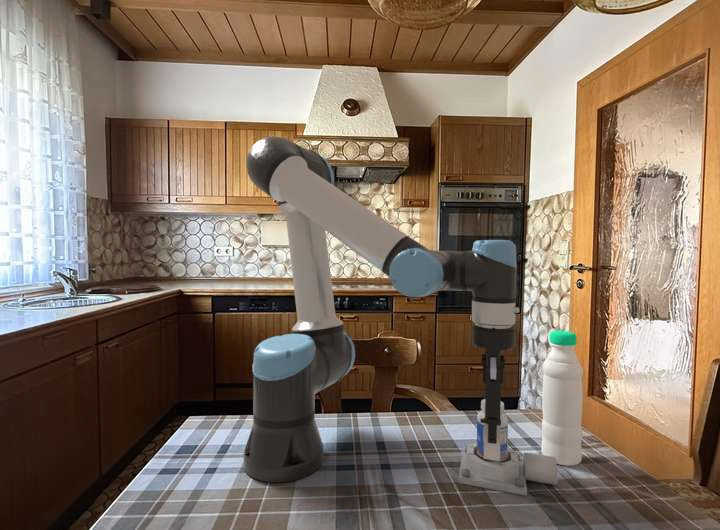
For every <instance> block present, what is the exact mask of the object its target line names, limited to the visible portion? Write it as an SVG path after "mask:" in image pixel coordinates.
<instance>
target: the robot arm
mask: <svg viewBox="0 0 720 530" xmlns="http://www.w3.org/2000/svg"><path fill="white" fill-rule="evenodd" d="M245 165H246V171H247V174H248V177H249V179H250V181H251V182H252V183H253V185H255V187H256V188H258V189H259V190H261V192H263V193H264V194H266V195H268V196H269V197H270V198H272V199H273V200H274V201H276V202H277V209H278V211H279V212H280V213H282V214H283V215H284V216H285V220H286V229H287V238H288V247H289V256H290V265H291V273H292V275H291V276H292V281H293V291H294V292H293V293H294V299H295V300H294V301H295V307H296V317H297V321H296V323H295V324H294V325H293V327H292V328H291V333H286V334H283V335H275V336H272V337H268V338H267V339H264V340H262V341H261V342H260V343H258V345H257V346H256V347H255V349H254V352H253V363H252V367H251V368H252V369H251V371H252V411H253V413H252V414H253V418H252V419H253V420H252V421H253V422H252V426H251V429H250V432H249V435H248V439H247V442H246V444H245V447H244V451H243V469H244V471H245V473H246V474H247V475H249V476H250V477H251V478H253V479H255V480H257V481H262V482H266V483H267V482H268V483H286V482H287V483H288V482H292V481H293V482H294V481H296V480H299V479H303V478H306V477H307V476H310V475H312V474H313V473H315V472H316V471H317V470H318V469H319V468H320V467H321V466H322V464H323V462H324V459H325V458H324V457H325V456H324V450H325V449H324V443H323V441H322V437H321V435H320V431H319V428H318V425H317V422H316V416H315V414H316V413H315V412H316V411H315V409H316V408H315V407H316V403H315V399H316V396H315V395H316V394H317V393H320V392H321V391H323V390H325V389H326V388H328V387H329V386H331V385H333V384H336V383H339V381H341V380H343V378H344V377H345V376H346V375H348V373H349V372H350V371H351V369H352V367H353V365H354V363H355V359H356V350H355V349H356V348H355V344H354V342H353V340H352V338H351V337H350V336H349V335H348V333H346V331H345V327H344V321H343V320H341V319H340V318H339V317H337V315H336V307H335V300H334V299H335V298H334V293H333V292H334V291H333V283H332V282H333V281H332V275H331V266H330V258H329V249H328V242H327V234H326V232H327V233H329V235H331V236H333V237H334V238H335V239H337V240H338V241H339V242H340V243H342V244H343V245H345V246H346V247H348V248H349V249H350V250H352V251H353V252H354V253H356V254H357V255H359V256H360V257H361V258H362V259H364V260H365V261H367V262H368V263H369V264H371V265H373V267H375V268H376V269H378V270H379V271H380V272H382V273H383V274H385V275H386V276H387V277H389V279H390V282H391V284H392V286H393V288H394V289H395V290H396V291H397V292H398V293H399V294H401V295H403V296H406V297H410V298H423V297H428V296H430V295H432V294H435V293H438V292H441V291H461V292H462V291H463V292H471V293H472V300H471V322H473V323H474V324H473V325H472V327H471V343H472V345H473V346H475V347H477V348H479V349H484V350H485V352H484V353H482V354H481V367H482V381H483V382H484V383H485V393H484V399H485V418H484V419H481V423H484V459H490V460H496V461H500V425H501V420H500V405H501V392H502V391H501V390H502V387H501V385H502V384H503V383H504V370H505V367H506V364H505V363H506V360H505V355H501V351H503V350H505V351H507V350H512V349H513V348H515V346H516V328H515V327H514V326H513V325H515V324H516V314H519V313H520V308H519V307H517V306H516V302H517V300H516V299H517V274H518V273H517V272H518V271H517V269H518V264H517V246H516V244H515V243H514V242H513V241H512V240H509V239H508V240H507V239H483V240H481V239H480V240H475V241H474V242H473V245H472V248H471V250H467V251H466V250H465V251H464V250H463V251H457V250H456V251H454V250H453V251H451V250H450V251H447V250H445V251H444V250H433V249H429V248H427V247H426V246H424V245H422V244H421V243H420V242H418V241H417V240H415V239H414V238H412V237H410V236H409V235H408V234H406V233H405V232H403V231H402V230H400V229H398V228H397V227H396V226H395V225H392V224H391V223H390V222H388V221H387V220H386V219H384V218H382V217H381V216H379V215H378V214H377V213H375V212H374V211H372V210H370V209H369V208H368V207H366V206H365V205H363V204H362V203H361V202H359V201H357V200H356V199H354V198H353V197H351V196H350V195H348V194H347V193H345V192H344V191H342V190H340V189H339V187H336V186H335V185H334V184H335V176H334V170H333V168H332V166H331V164H330V163H329V162H328V159H327V160H326V158H325V157H323V156H322V155H321V154H320V153H318V152H316V151H314V150H312V149H309V148H305V147H303V146H302V145H299V144H297V143H296V142H293V141H291V140H289V139H287V138H285V137H281V136H276V135H275V136H267V137H264V138H263V137H262V138H261V139H258V140H257V141H256V142H255V143H254V144H253V145H252V147H251V148H250V150H249V151H248V153H247V157H246V164H245Z"/></svg>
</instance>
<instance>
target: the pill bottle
mask: <svg viewBox="0 0 720 530" xmlns="http://www.w3.org/2000/svg"><path fill="white" fill-rule="evenodd" d="M480 409H481V410H480V411H479V412H478V413H477V416H476V443H477V453H478V455H479V456H481V457H482V458H484V423H481V419H484V418H485V398H484V399H481V401H480ZM504 412H505V403H504V402H503V401H501V405H500V420H501V425H500V461H503V460H505V459H506V458H507V456H508V448H509V445H508V444H509V437H508V436H509V435H508V433H509V419H508V416H507V414H505V413H504ZM486 460H489V461H495V462H498V461H496V460H490V459H486Z"/></svg>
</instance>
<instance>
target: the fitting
mask: <svg viewBox="0 0 720 530" xmlns="http://www.w3.org/2000/svg"><path fill="white" fill-rule="evenodd" d="M460 459H461V460H460V465H459V467H460V468H459V474H458V484H462V485H467V486H474V487H477V488H483V489H488V490H494V491H500V492H504V493H509V494H516V495H520V496H526V497H527V496H528V487H527V481H529V482H535V483H536V482H537V483H542V484H547V485H551V486H552V485H554V486H557V485H558V464H557V463H556V458H555V457H551V456H545V455H543V454H538V453H533V452H532V453H530V452H523V457H521V454H519V453H518V452H517V451H515V450H514V449H512V448H510V447H508V456H507V458H506V459H505V460H503V461H498V462H495V461H489V460H486V459H484V458H482V457H481V456H479V455H478V453H477V442H473V443H469V444H467V445H465V446H464V447H463V448H462V452H461V457H460Z"/></svg>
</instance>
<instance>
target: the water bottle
mask: <svg viewBox="0 0 720 530" xmlns="http://www.w3.org/2000/svg"><path fill="white" fill-rule="evenodd" d="M577 342H578V339H577V334H576V333H575V332H573V331H568V330H552V331H550V332H549V344H550V345H551V350H550V351H549V353H548V354H547V357H546V358H545V360H544V362H543V364H542V372H543V377H542V378H543V379H542V389H541V390H542V393H541V394H542V399H541V400H542V401H541V404H542V405H541V407H542V409H541V410H542V421H541V433H542V438H541V449H540V450H541V455H545V456H551V457H555V458H556V463H557V465H560V466H564V467H565V466H566V467H572V466H573V467H574V466H577V465H579V464H580V463H581V462H582V459H583V452H582V450H583V448H582V438H583V429H582V418H583V401H584V399H583V396H584V394H583V381H582V379H583V376H584V369H583V366H582V365H581V362H580V361H579V359H578V355H577V354H576V353H575V348H576V347H577V346H576V345H577V344H578V343H577Z"/></svg>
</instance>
